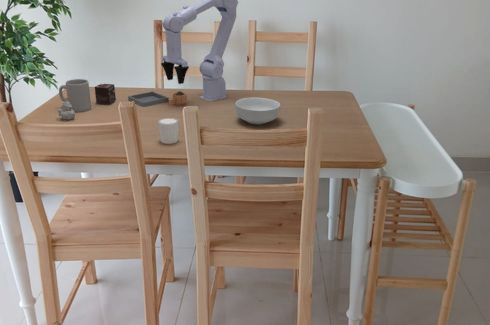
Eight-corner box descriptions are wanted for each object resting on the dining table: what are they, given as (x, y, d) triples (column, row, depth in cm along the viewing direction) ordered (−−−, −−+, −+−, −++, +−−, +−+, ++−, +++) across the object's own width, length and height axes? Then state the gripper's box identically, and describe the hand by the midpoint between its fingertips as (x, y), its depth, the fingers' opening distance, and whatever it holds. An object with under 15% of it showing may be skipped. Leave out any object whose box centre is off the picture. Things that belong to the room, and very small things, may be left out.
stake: (182, 99, 203) (182, 88, 201) (193, 104, 198) (193, 92, 196) (166, 103, 198) (166, 91, 196) (177, 107, 193) (177, 95, 191)
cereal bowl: (265, 132, 169) (265, 113, 167) (226, 123, 177) (226, 104, 174) (287, 119, 183) (288, 101, 180) (250, 111, 191) (250, 94, 188)
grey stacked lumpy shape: (71, 122, 174) (68, 101, 171) (55, 120, 175) (51, 99, 172) (78, 117, 179) (76, 97, 176) (62, 116, 180) (59, 95, 177)
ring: (181, 99, 201) (181, 91, 200) (189, 102, 198) (189, 94, 196) (166, 103, 196) (165, 94, 195) (173, 106, 193) (173, 97, 191)
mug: (94, 106, 192) (91, 79, 188) (86, 112, 185) (83, 85, 180) (66, 104, 193) (62, 78, 189) (56, 111, 186) (52, 83, 181)
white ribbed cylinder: (159, 137, 163) (158, 117, 160) (179, 137, 163) (179, 117, 160) (157, 144, 156) (156, 124, 153) (179, 144, 157) (178, 124, 154)
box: (109, 105, 194) (108, 88, 191) (96, 104, 195) (94, 86, 192) (116, 101, 199) (114, 84, 196) (102, 100, 200) (101, 83, 197)
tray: (153, 96, 207) (152, 91, 206) (168, 102, 199) (168, 97, 198) (128, 101, 199) (128, 96, 198) (143, 108, 191) (143, 102, 190)
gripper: (155, 46, 189) (157, 79, 195) (176, 51, 179) (177, 87, 185) (169, 44, 193) (171, 76, 199) (191, 49, 184) (192, 83, 189)
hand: (175, 81), depth 192 cm, fingers open, 7 cm apart
